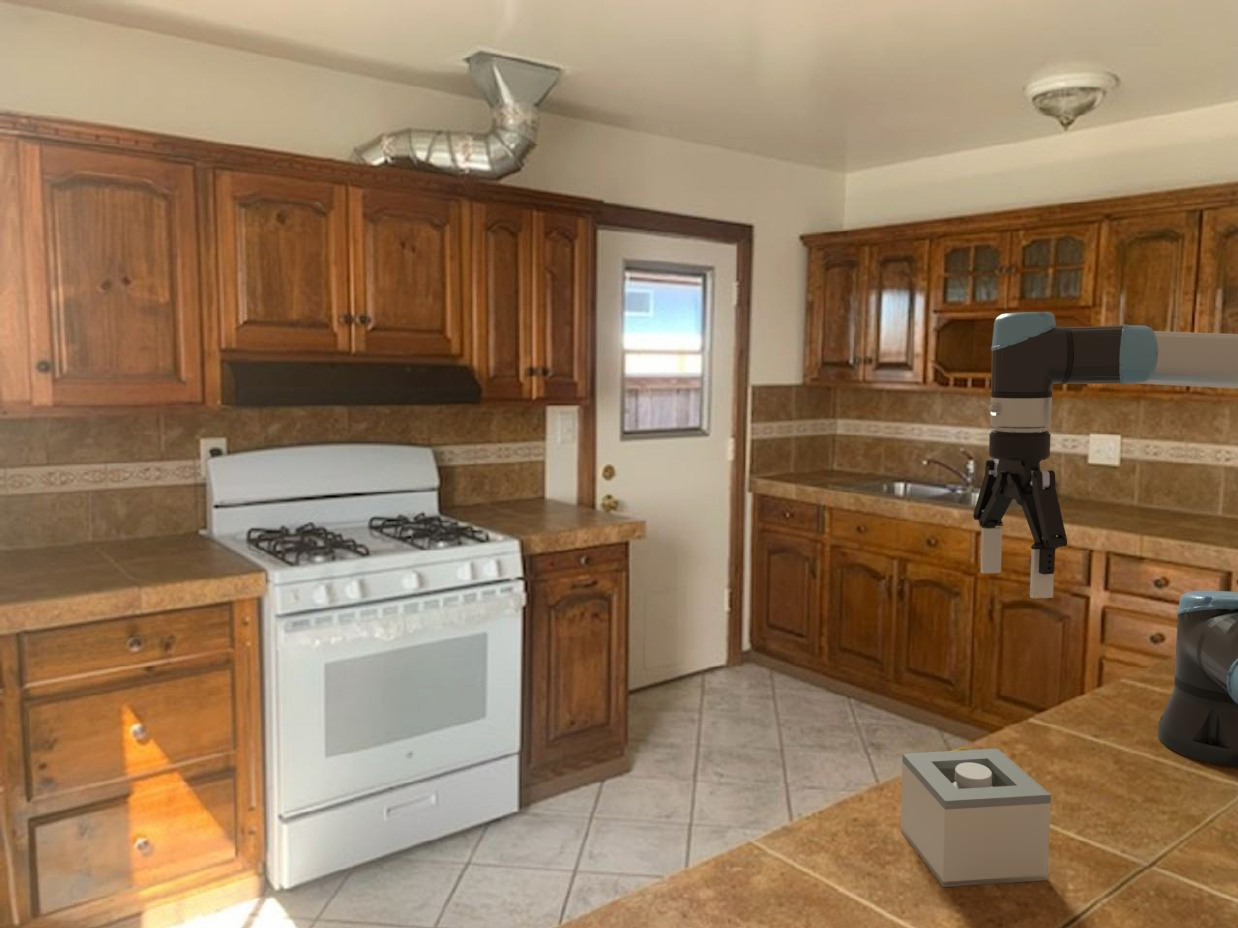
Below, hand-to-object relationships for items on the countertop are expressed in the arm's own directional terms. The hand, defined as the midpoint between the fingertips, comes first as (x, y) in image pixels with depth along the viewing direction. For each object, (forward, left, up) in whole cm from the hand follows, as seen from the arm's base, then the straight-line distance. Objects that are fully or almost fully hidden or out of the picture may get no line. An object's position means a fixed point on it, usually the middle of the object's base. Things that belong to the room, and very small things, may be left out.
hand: (1014, 584), depth 125 cm
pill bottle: (+15, +20, -26) cm, 36 cm away
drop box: (+15, +20, -27) cm, 37 cm away
